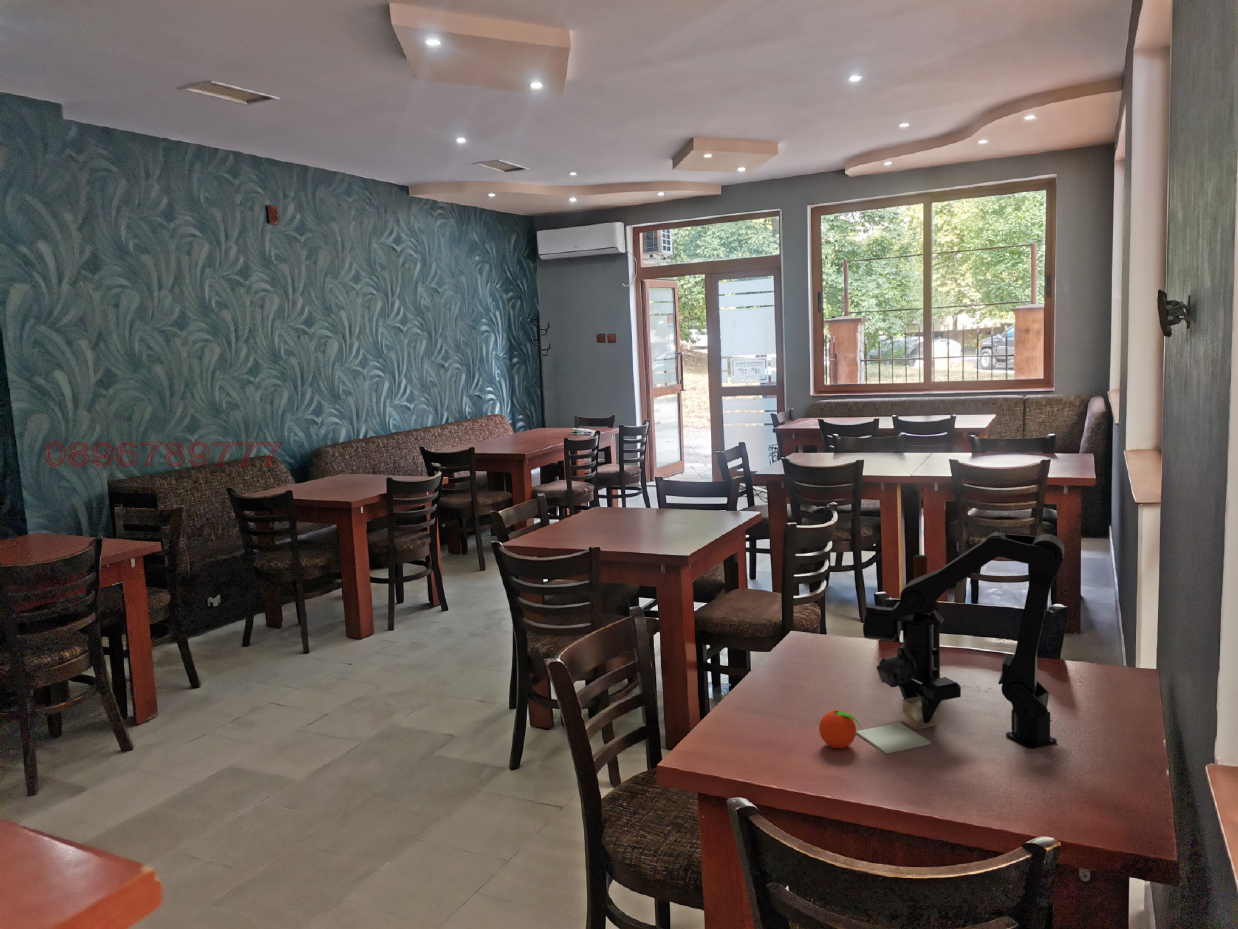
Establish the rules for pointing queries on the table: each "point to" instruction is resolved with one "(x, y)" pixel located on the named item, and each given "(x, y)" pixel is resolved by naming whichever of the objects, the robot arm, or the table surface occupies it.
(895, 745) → the pad
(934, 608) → the wine bottle
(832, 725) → the clementine
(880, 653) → the table surface
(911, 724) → the sandy foam cube
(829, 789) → the table surface
